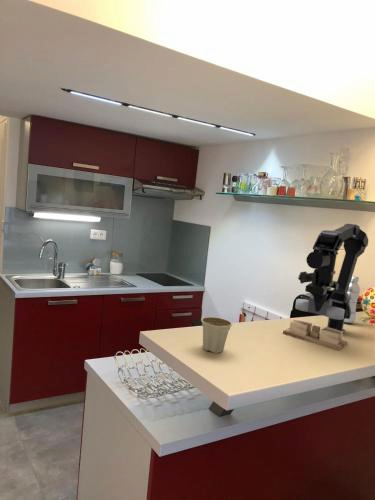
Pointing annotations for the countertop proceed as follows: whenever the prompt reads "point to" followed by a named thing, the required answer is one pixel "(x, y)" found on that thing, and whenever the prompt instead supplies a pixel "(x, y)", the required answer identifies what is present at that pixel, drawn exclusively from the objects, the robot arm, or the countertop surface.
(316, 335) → the display stand
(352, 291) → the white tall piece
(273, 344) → the countertop surface
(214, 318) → the flower pot
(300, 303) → the grey dumbbell shape
